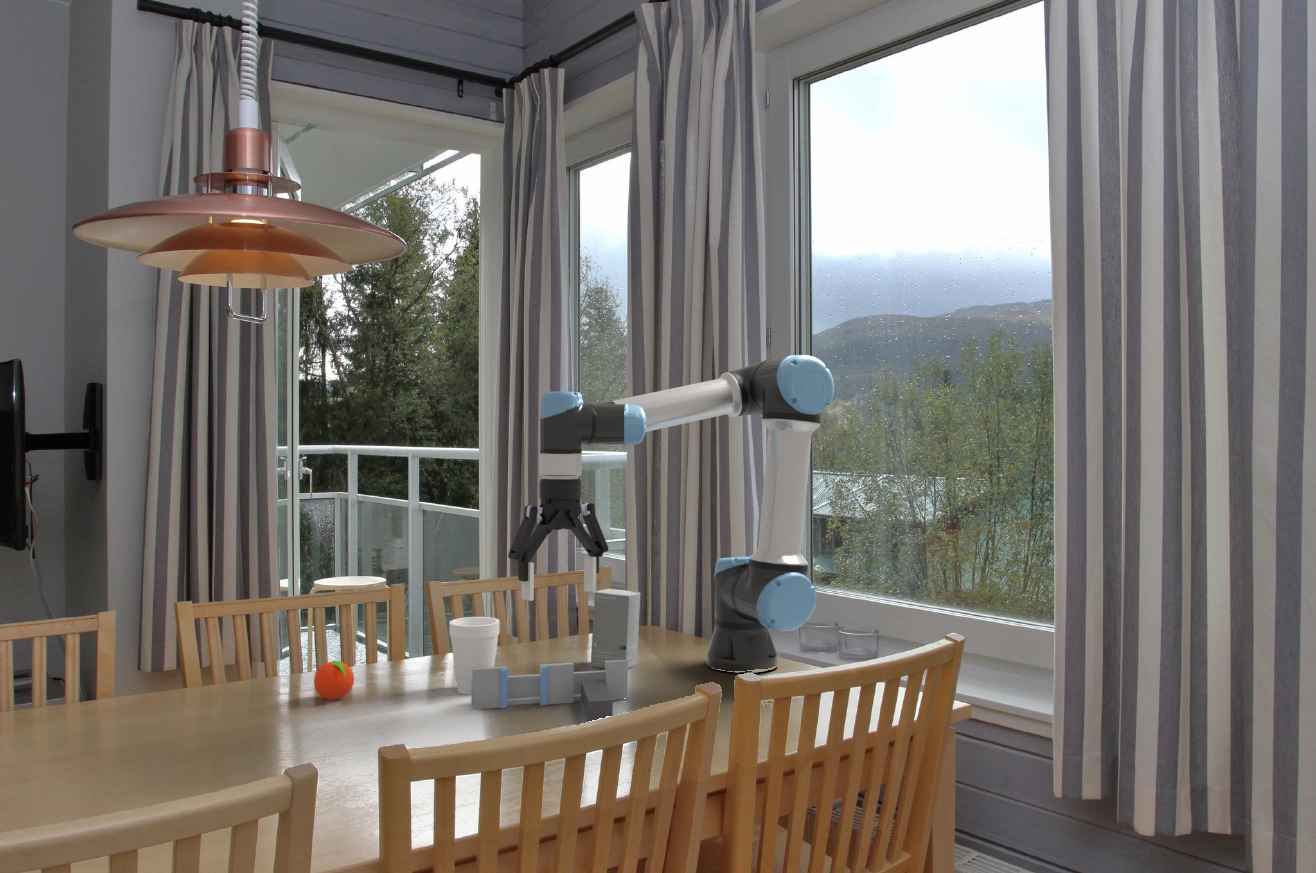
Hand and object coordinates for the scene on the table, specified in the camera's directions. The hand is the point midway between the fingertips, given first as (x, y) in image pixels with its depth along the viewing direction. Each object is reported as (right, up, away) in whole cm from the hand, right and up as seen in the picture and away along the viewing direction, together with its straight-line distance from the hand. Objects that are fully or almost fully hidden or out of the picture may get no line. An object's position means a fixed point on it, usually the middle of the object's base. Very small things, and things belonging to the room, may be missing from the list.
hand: (559, 595), depth 169 cm
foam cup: (-17, -20, +10) cm, 28 cm away
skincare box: (+9, -20, +29) cm, 36 cm away
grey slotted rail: (-2, -20, +3) cm, 20 cm away
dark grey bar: (+7, -20, -3) cm, 21 cm away
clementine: (-41, -20, +3) cm, 46 cm away
